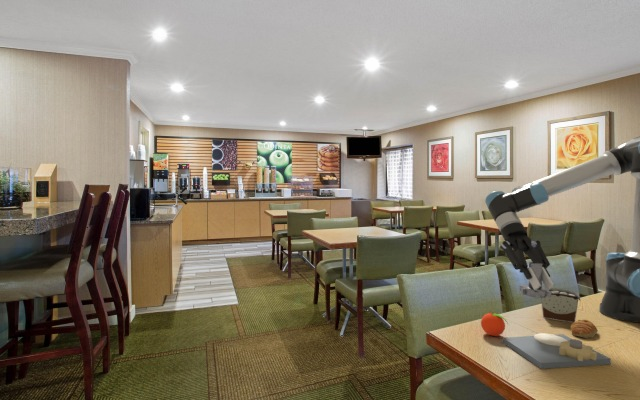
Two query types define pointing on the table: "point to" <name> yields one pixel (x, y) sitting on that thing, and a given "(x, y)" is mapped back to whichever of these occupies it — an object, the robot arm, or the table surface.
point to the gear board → (555, 351)
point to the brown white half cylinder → (560, 305)
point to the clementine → (493, 324)
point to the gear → (541, 291)
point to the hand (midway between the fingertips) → (544, 287)
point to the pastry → (583, 328)
